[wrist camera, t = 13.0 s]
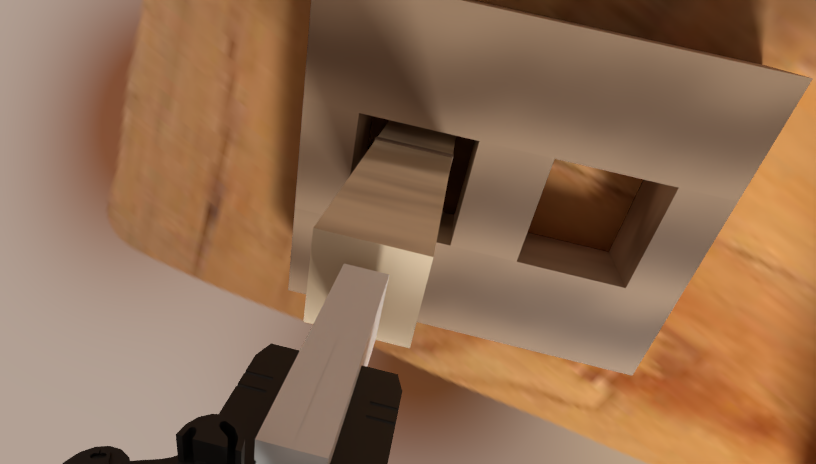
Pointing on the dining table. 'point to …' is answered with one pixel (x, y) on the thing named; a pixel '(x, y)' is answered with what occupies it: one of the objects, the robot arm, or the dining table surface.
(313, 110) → the board
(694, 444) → the dining table surface
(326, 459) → the robot arm
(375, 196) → the peg
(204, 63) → the dining table surface
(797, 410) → the dining table surface
